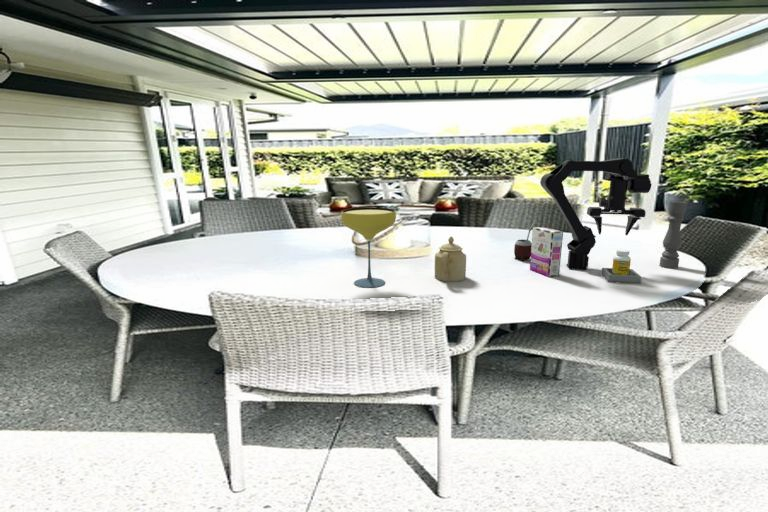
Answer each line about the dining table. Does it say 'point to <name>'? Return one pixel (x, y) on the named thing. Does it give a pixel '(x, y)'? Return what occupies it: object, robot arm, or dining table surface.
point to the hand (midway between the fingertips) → (612, 234)
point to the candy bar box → (546, 251)
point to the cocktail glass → (368, 232)
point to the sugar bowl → (450, 262)
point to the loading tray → (621, 276)
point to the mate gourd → (523, 248)
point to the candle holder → (673, 235)
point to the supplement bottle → (621, 263)
